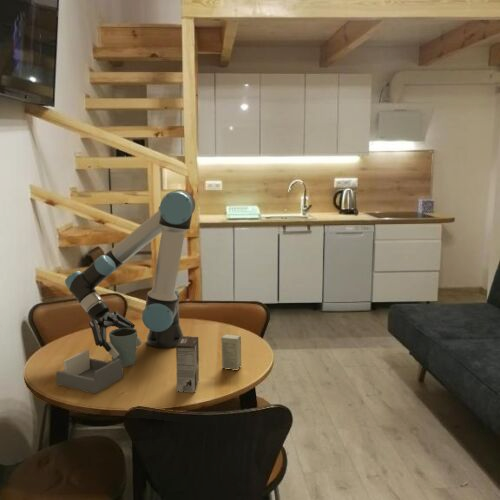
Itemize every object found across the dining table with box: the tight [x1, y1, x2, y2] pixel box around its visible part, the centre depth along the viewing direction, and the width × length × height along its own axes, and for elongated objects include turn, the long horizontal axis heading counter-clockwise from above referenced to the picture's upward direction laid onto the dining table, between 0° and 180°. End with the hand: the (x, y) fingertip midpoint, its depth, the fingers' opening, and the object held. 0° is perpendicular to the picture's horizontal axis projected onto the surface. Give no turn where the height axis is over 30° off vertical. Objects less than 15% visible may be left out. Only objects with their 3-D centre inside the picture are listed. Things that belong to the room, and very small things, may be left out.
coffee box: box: [175, 335, 200, 393], centre depth 161 cm, size 9×6×16 cm
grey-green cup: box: [108, 328, 138, 368], centre depth 181 cm, size 10×10×12 cm
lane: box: [55, 357, 124, 395], centre depth 165 cm, size 16×14×7 cm
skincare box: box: [221, 333, 242, 369], centre depth 177 cm, size 6×4×12 cm
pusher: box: [62, 349, 90, 375], centre depth 167 cm, size 1×11×7 cm, turn 156°
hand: (128, 350), depth 180 cm, fingers open, 13 cm apart
